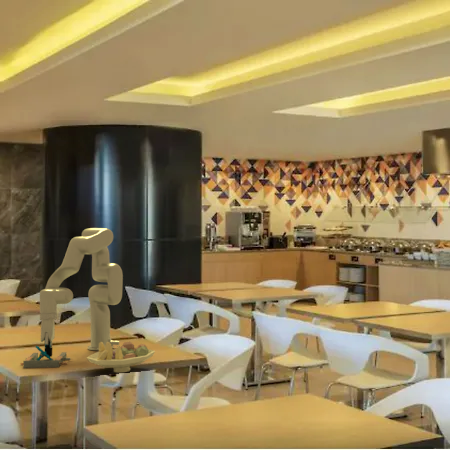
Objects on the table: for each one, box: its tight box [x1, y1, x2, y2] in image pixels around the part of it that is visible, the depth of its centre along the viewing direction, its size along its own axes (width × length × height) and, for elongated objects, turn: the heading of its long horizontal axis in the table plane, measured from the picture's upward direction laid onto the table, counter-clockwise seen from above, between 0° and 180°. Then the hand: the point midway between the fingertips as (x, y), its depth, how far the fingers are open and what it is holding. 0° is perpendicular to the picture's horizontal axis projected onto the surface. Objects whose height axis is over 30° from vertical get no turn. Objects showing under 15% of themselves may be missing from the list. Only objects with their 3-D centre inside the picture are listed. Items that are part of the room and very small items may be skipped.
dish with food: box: [86, 341, 156, 373], centre depth 315 cm, size 28×28×14 cm
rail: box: [20, 351, 71, 369], centre depth 336 cm, size 20×24×3 cm
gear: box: [35, 345, 54, 360], centre depth 337 cm, size 11×6×10 cm
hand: (48, 356), depth 344 cm, fingers closed
